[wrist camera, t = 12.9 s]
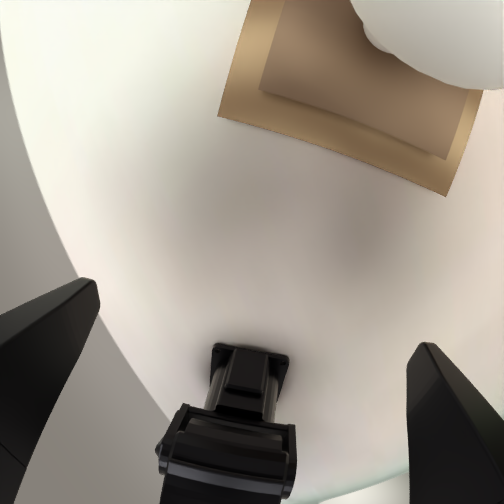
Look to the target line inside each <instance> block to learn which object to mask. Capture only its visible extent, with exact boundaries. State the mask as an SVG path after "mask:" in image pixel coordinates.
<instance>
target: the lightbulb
mask: <svg viewBox="0 0 504 504" xmlns="http://www.w3.org/2000/svg"><path fill="white" fill-rule="evenodd" d="M350 1H351V3H352V5H353V7H354V9H355V11H356V13H357V15H358V16H359V17H360V19H361V20H362V22H363V28H364V32H365V34H366V36H367V38H368V39H369V41H370V42H371V43H372V44H373V45H374V46H375V47H376V48H378V49H380V50H381V51H384V52H386V53H391V54H394V55H395V56H396V57H397V58H399V59H400V60H401V61H403V62H404V63H406V64H408V65H409V66H411V67H413V68H414V69H416V70H417V71H419V72H421V73H424V74H426V75H428V76H431V77H433V78H435V79H437V80H440V81H442V82H444V83H446V84H450V85H454V86H458V87H461V88H465V89H479V90H497V89H503V88H504V0H350Z"/></svg>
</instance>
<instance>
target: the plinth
mask: <svg viewBox="0 0 504 504" xmlns="http://www.w3.org/2000/svg"><path fill="white" fill-rule="evenodd" d="M482 94H483V90H479V89H465V88H461V87H458V86H454V85H450V84H446V83H444V82H442V81H440V80H437V79H435V78H433V77H431V76H428V75H426V74H424V73H421V72H419V71H417V70H416V69H414V68H413V67H411V66H409V65H408V64H406V63H404V62H403V61H401V60H400V59H399V58H397V57H396V56H395V55H394V54H391V53H386V52H384V51H381V50H380V49H378V48H376V47H375V46H374V45H373V44H372V43H371V42H370V41H369V39H368V38H367V36H366V34H365V32H364V28H363V22H362V20H361V19H360V17H359V16H358V15H357V13H356V11H355V9H354V7H353V5H352V3H351V1H350V0H251V2H250V5H249V8H248V11H247V15H246V18H245V21H244V24H243V27H242V30H241V34H240V37H239V40H238V44H237V47H236V50H235V54H234V57H233V61H232V64H231V67H230V71H229V75H228V78H227V82H226V85H225V89H224V93H223V96H222V100H221V104H220V108H219V112H218V115H217V116H218V117H222V118H226V119H230V120H234V121H238V122H242V123H246V124H249V125H253V126H257V127H260V128H264V129H267V130H271V131H274V132H278V133H281V134H284V135H287V136H291V137H294V138H297V139H300V140H303V141H306V142H309V143H312V144H315V145H318V146H321V147H324V148H327V149H330V150H333V151H336V152H339V153H341V154H344V155H347V156H350V157H352V158H355V159H358V160H360V161H363V162H365V163H368V164H371V165H373V166H376V167H378V168H381V169H383V170H386V171H388V172H391V173H393V174H395V175H398V176H400V177H402V178H405V179H407V180H409V181H412V182H414V183H416V184H418V185H421V186H423V187H425V188H427V189H430V190H432V191H434V192H436V193H438V194H440V195H442V196H444V197H446V196H447V193H448V191H449V189H450V186H451V184H452V181H453V179H454V176H455V174H456V171H457V169H458V166H459V164H460V161H461V158H462V156H463V153H464V150H465V147H466V144H467V142H468V139H469V136H470V133H471V130H472V127H473V124H474V121H475V117H476V114H477V111H478V108H479V104H480V101H481V97H482Z"/></svg>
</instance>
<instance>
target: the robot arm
mask: <svg viewBox="0 0 504 504" xmlns="http://www.w3.org/2000/svg"><path fill="white" fill-rule="evenodd" d="M99 309H100V299H99V294H98V289H97V284H96V282H95V281H94V280H92V279H89V278H85V277H81V278H79V279H77V280H74V281H72V282H70V283H68V284H66V285H63V286H61V287H59V288H57V289H55V290H52V291H50V292H48V293H46V294H44V295H41V296H39V297H37V298H35V299H33V300H31V301H29V302H27V303H24V304H22V305H20V306H18V307H16V308H14V309H12V310H10V311H8V312H6V313H4V314H1V315H0V504H14V501H15V498H16V495H17V493H18V490H19V487H20V485H21V482H22V479H23V477H24V474H25V472H26V469H27V466H28V464H29V461H30V459H31V456H32V454H33V452H34V449H35V447H36V445H37V442H38V440H39V438H40V436H41V433H42V431H43V429H44V427H45V424H46V422H47V420H48V418H49V416H50V414H51V412H52V409H53V408H54V405H55V403H56V401H57V399H58V397H59V395H60V393H61V391H62V389H63V387H64V385H65V383H66V381H67V379H68V377H69V375H70V373H71V371H72V370H73V368H74V366H75V364H76V362H77V360H78V358H79V356H80V354H81V352H82V350H83V348H84V345H85V343H86V340H87V338H88V336H89V333H90V331H91V328H92V326H93V324H94V321H95V319H96V317H97V315H98V312H99ZM217 349H219V350H217ZM282 361H284V362H282ZM288 366H289V358H288V357H286V356H281V355H275V354H269V353H264V352H258V351H253V350H247V349H242V348H237V347H232V346H227V345H222V344H215V345H214V346H213V349H212V358H211V374H210V389H209V392H208V396H207V399H206V402H205V405H204V409H201V408H197V407H192V406H190V405H189V404H185V403H183V404H182V406H181V408H180V410H177V412H176V413H175V416H174V418H173V420H172V422H171V424H170V426H169V428H168V430H167V432H166V434H165V435H164V437H163V438H162V439H161V441H160V442H159V443H158V444H157V446H156V448H155V453H156V454H157V456H158V457H159V473H160V474H162V475H165V477H164V482H163V487H162V492H161V497H160V504H280V503H281V499H288V497H289V496H290V494H291V491H292V488H293V485H294V481H295V476H296V469H297V450H296V431H295V425H293V424H288V425H285V424H278V423H274V418H275V410H276V403H277V401H278V397H279V394H280V391H281V388H282V385H283V382H284V379H285V375H286V372H287V369H288ZM406 373H407V406H406V416H407V432H408V448H409V478H410V504H504V420H503V419H502V418H501V417H500V415H499V414H498V413H497V412H496V411H495V410H494V408H493V407H492V406H491V405H490V404H489V403H488V401H487V400H486V399H485V398H484V397H483V396H482V395H481V393H480V392H479V391H478V390H477V389H476V388H475V387H474V385H473V384H472V383H471V382H470V381H469V380H468V379H467V378H466V377H465V375H464V374H463V373H462V372H461V371H460V370H459V369H458V368H457V367H456V366H455V364H454V363H453V362H452V361H451V360H450V359H449V358H448V357H447V356H446V355H445V354H444V353H443V352H442V350H441V349H440V348H439V347H438V346H437V345H436V344H434V343H429V342H422V343H420V344H419V345H418V347H417V349H416V350H415V352H414V353H413V355H412V357H411V358H410V360H409V361H408V364H407V370H406Z"/></svg>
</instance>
